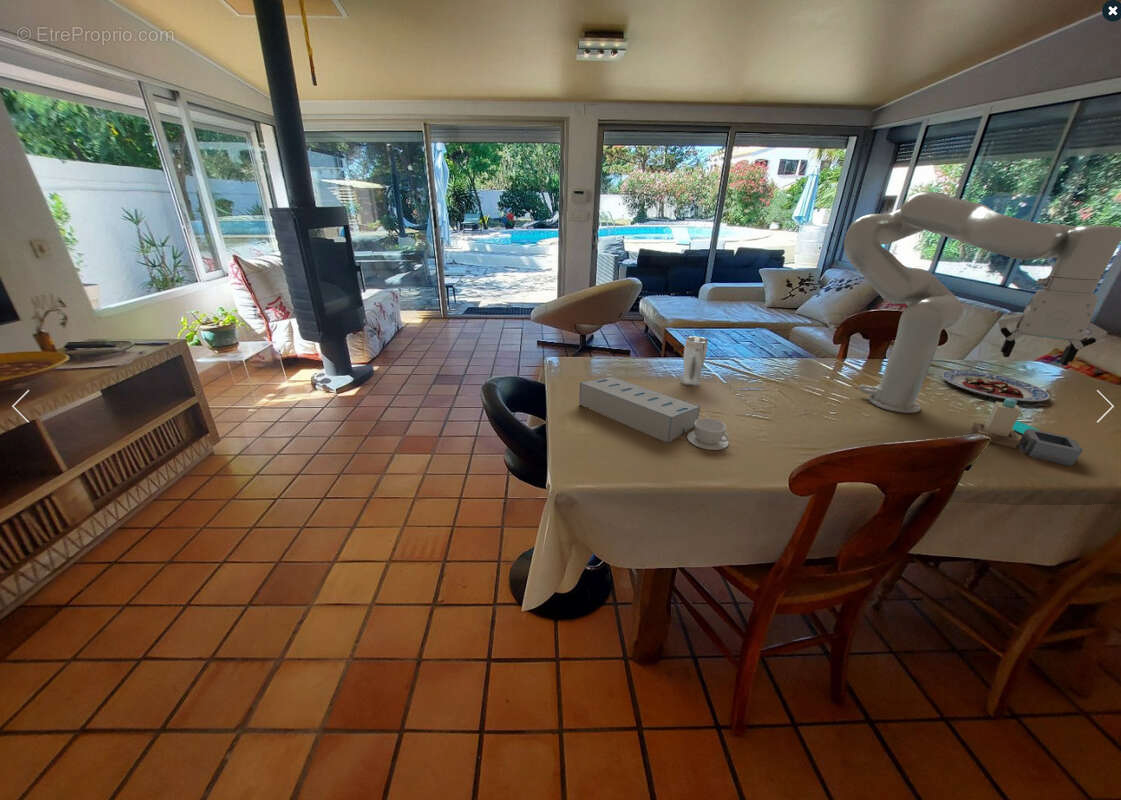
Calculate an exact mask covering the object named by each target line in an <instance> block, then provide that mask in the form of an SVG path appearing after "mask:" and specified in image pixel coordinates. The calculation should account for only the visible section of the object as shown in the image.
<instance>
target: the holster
mask: <svg viewBox="0 0 1121 800" xmlns="http://www.w3.org/2000/svg"><path fill="white" fill-rule="evenodd" d="M985 423H986V422H980V421H975V420H974V422H973V423H972V425H971V431H972V433H973V435H974V434H981V435H985V436H988V437H990V438H991V441H992V442H994V443H992V442H990V443H992V444H996V445H1001V446H1005V447H1010V448H1013V449H1014V448H1015V449H1016V448H1017V446H1018V445H1019V444H1018V443H1019V441H1020V439H1019V438H1018V435H1017V433H1015V432H1014V430H1013V429H1012V430H1011V432H1010V434H1009V435H1008V437H1005V436H1001V435H996V434H992V433H987V432H983V430H982V429H983V427H984V425H985Z"/></svg>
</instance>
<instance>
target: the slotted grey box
mask: <svg viewBox="0 0 1121 800" xmlns="http://www.w3.org/2000/svg"><path fill="white" fill-rule="evenodd" d="M578 401H579V404H581V405H584V406H586V407H588V408H591V409H593V410H595V411H597V412H599V413H601V414H604V415H606V416H608V417H610V418H609V419H611V418H612V419H611V420H613V419H615V420H617V421H616V422H618V421H619V422H618V423H620V422H621V423H620V424H623V423H624V424H623V425H625V424H626V425H625V426H627V425H628V427H630V428H632V429H635V430H637V431H639V432H642V433H643V434H647V435H648V436H650V437H654V438H656V439H658V440H660V441H663V442H665V443H667V444H669V443H670V442H672V441H673V440H675V439H676V438H678V437H680V436H681V435H683V433H686V432H688V431H689V430H690V429H692V428H694V425H695V421H696V420H697V419H699V416H700V415H699V414H700V409H701V406H699V405H696V404H693V403H690V402H687V401H684V400H681V399H679V398H676V397H672V396H670V395H668V394H667V395H666V394H664V393H661V392H658V391H655V390H651V389H649V388H646V387H644V386H640V385H637V384H635V383H631V382H628V381H626V380H623V379H620V378H617V377H615V376H607V377H602V378H598V379H597V378H596V379H590V380H586V381H582V382H580V383H579V400H578ZM597 412H596V413H597ZM599 413H598V414H599ZM601 414H600V415H601ZM604 415H603V416H604ZM606 416H605V417H606ZM608 417H607V418H608ZM615 420H614V421H615Z"/></svg>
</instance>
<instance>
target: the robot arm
mask: <svg viewBox="0 0 1121 800" xmlns="http://www.w3.org/2000/svg"><path fill="white" fill-rule="evenodd" d="M923 231H926V232H929V233H933V234H937V235H940V236H943V237H947V238H948V239H949V238H950V239H953V240H956V241H959V242H960V243H964V244H967V245H971V246H972V247H976V248H978V249H982V250H984V251H988V252H991V253H994V254H998V255H1001V256H1004V257H1008V258H1011V259H1016V260H1021V261H1029V260H1030V261H1031V260H1038V259H1039V260H1041V259H1053V258H1054V259H1055V258H1057V259H1056V261H1055V263H1054V264H1053V267H1052V268H1051V271H1050V273H1049V275H1047V276H1046V277H1043V278H1038V279H1037V280H1036V283H1035V285H1037V286H1038V285H1039V286H1042V289H1038V290H1037V291H1036V292H1035V294H1034V295H1033V296H1032V297H1031V299H1030V301H1029V302H1028V304H1027V305H1026V306H1025V309H1024V311H1023V312H1022V313H1020V314H1016V315H1011V316H1008V317H1003V318H999V319H998V320H997V324H998V328H999V331H1000V332H1001V333H1002V335H1003V336H1004V338H1005V340H1004V342H1003V344H1002V346H1001V349H1000V353H1002V356H1003V357H1004V358H1010V356H1011V353H1012V351H1013V350H1014V347H1015V345H1016V339H1018V338H1019V337H1022V336H1024V335H1025V336H1029V337H1037V338H1047V339H1054V340H1062V341H1068V342H1069V343H1070V344H1069V345H1067V346H1066V347H1065V349H1064V351H1063V352H1062V354H1061V355H1060V358H1059V360H1058V363H1060V364H1061V365H1062V366H1068V364H1069V362H1070V363H1072V362H1073V361H1074V360H1075V357H1076V355H1077V354H1078V352H1079V350H1081V349H1083V348H1085V347H1088V346H1091V345H1093V344H1094V343H1096V342H1097V341H1098V340H1100V339H1101V338H1103V337H1105V336H1106V335H1107V334H1108V331H1107V330H1105V329H1103V328H1101V327H1099V326H1098V325H1096V324H1094V323H1092V322H1091V320H1092V317H1093V314H1094V313H1095V308H1096V305H1097V301H1098V298H1099V295H1097V294H1094V293H1095V290H1096V288H1097V287H1098V285H1099V283H1100V281H1101V279H1102V276H1103V275H1104V273H1105V271H1106V270H1107V268H1108V265H1109V263H1110V262H1111V260H1112V258H1113V256H1114V254H1115V252H1116V250H1117V248H1118V246H1119V244H1120V243H1121V227H1120V226H1114V225H1078V226H1077V225H1068V224H1062V223H1061V224H1059V223H1048V222H1046V223H1041V222H1040V223H1039V222H1036V221H1031V220H1026V219H1021V218H1018V217H1013V216H1009V215H1005V214H1003V213H999V212H996V211H995V210H992V209H991V208H990V207H989V206H988V205H985V204H982V203H978V202H974V201H970V200H965V199H961V198H956V197H952V196H950V195H948V194H946V193H944V192H937V191H936V192H935V191H922V192H921V191H920V192H917V193H915V194H913V195H911V196H909V197H908V198H907V199H906V200H905V201H904V202H903V203H902V205H901V207H900V209H897V210H895V211H892V212H890V213H871V214H866V215H862V216H861V217H859V218H857V219H856V220H855V221H853V222H852V223H851V224H850V225H849V227H848V229H847V231H846V233H845V236H844V240H843V249H844V253H845V256H846V258H847V260H848V261H849V263H850V264H851V265H852V266H853V267H854V268H855V270H857V271H858V272H859V273H860V275H861V276H862V277H863V278H864V280H866V282H867V283H868V284H869V285H871V287H872V288H873V289H874V290H875V291H876V293H877V294H879V296H881V297H882V299H883V300H885V302H886V303H889V304H893V305H899V304H900V305H901V304H906V308H905V309H904V310H903V312H902V313H901V315H900V318H899V322H898V328H897V332H896V337H895V340H894V343H893V346H892V347H891V348H892V349H891V352H890V354H889V358H888V360H887V363H886V367H885V370H883V375H882V377H881V380H880V383H878V384H876V385H872V386H871V385H867V384H862V383H861V384H860V386H859V388H858V391H862V392H863V393H864V394H868V395H869V396H868V401H869V402H870V403H871V404H872V405H875V406H876V407H878V408H880V409H885V410H887V411H891V412H896V413H901V414H903V413H904V414H914V413H918V412H920V410H921V408H922V405H920V403H919V402H917V399H918V397H919V395H920V393H921V390H922V388H923V385H924V383H925V380H926V378H927V375H928V373H929V370H930V367H931V365H932V362H933V360H934V357H935V354H936V352H937V350H938V346H939V341H940V337H941V334H942V330H945V329H948V328H950V327H953V326H954V325H956V324H957V323H958V322H959V321H960V320H961V319H962V316H963V314H964V308H963V305H962V303H961V301H960V300H959V299H958V298H957V296H956V295H954V293H953V292H952V291H950V290H949V289H948V288H947V286H945V285H944V284H943V283H942V282H941V281H940V280H939V279H938V278H937V277H936V276H935V275H934V274H932V273H931V272H929V271H928V270H926V269H922V268H915V267H914V268H908V266H907V267H906V266H905V265H904V264H903V263H902V262H901V261H899V259H897V258H896V256H895V255H894V254H893V253H891V252H890V251H889V250H888V249H887V248H885V247H883V246H882V245H888V244H891V243H895V242H897V241H900V240H902V239H905V238H908V237H911V236H913V235H916V234H918V233H920V232H923ZM1016 322H1017V323H1016ZM1012 323H1016V327H1015V329H1014V330H1012V331H1010V329H1009V328H1008V325H1009V324H1012ZM1087 330H1089V331H1090V332H1092V334H1091V335H1089V336H1087V337H1084V338H1083V336H1084V335H1085V333H1086V331H1087ZM1081 338H1083V339H1081Z"/></svg>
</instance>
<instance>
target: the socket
mask: <svg viewBox="0 0 1121 800" xmlns="http://www.w3.org/2000/svg"><path fill="white" fill-rule="evenodd" d="M1018 445H1019V448H1020V449H1021V452H1022V453H1023V454H1026V453H1027V456H1028V457H1029V456H1030V457H1029V458H1034V459H1038V458H1039V459H1038V460H1043V461H1047V462H1052V463H1055V464H1059V465H1064V466H1069V467H1072V466H1073V465H1075V464H1076V462H1077V461H1078V459H1079V457H1080V455H1081V454H1082V453H1083V451H1084V449H1083V447H1082V446H1081V444H1079V442H1078V441H1077V440H1076V439H1072V438H1071V437H1070V436H1069V435H1068V436H1067V435H1064V434H1059V433H1053V432H1049V431H1044V430H1041V431H1040V429H1038V430H1035V429H1030V428H1028V430H1025V432H1024V434H1023V436H1022V435H1021V437H1020V439H1019V443H1018Z"/></svg>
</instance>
